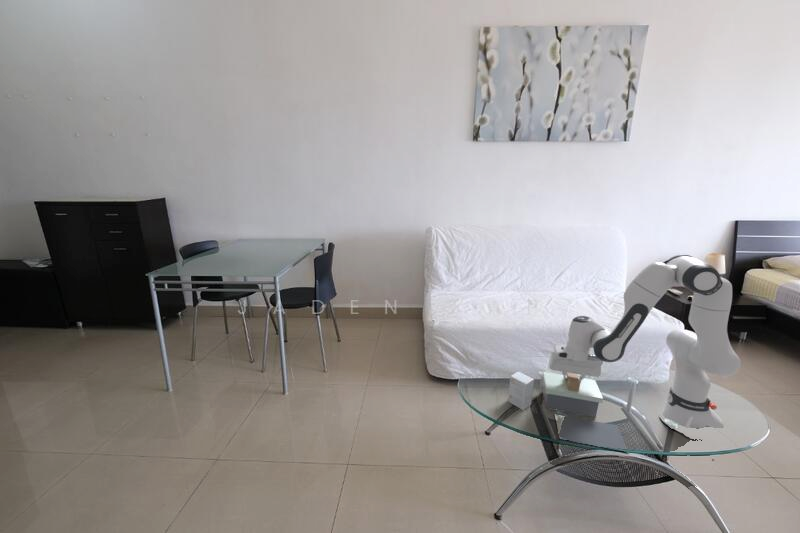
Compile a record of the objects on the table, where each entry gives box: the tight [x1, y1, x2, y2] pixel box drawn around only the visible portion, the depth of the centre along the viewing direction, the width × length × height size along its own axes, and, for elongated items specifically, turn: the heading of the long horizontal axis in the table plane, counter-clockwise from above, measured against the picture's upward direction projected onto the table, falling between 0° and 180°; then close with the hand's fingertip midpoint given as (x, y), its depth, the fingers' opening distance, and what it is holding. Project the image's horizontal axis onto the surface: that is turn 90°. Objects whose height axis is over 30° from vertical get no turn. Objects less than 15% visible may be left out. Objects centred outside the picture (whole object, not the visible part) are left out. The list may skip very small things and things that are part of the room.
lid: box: [542, 371, 604, 404], centre depth 155 cm, size 22×14×6 cm, turn 74°
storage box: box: [542, 385, 600, 418], centre depth 157 cm, size 20×12×9 cm, turn 74°
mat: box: [557, 415, 628, 449], centre depth 141 cm, size 24×15×1 cm, turn 74°
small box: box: [507, 371, 535, 411], centre depth 156 cm, size 8×6×13 cm
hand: (571, 381), depth 155 cm, fingers closed on lid, 4 cm apart
